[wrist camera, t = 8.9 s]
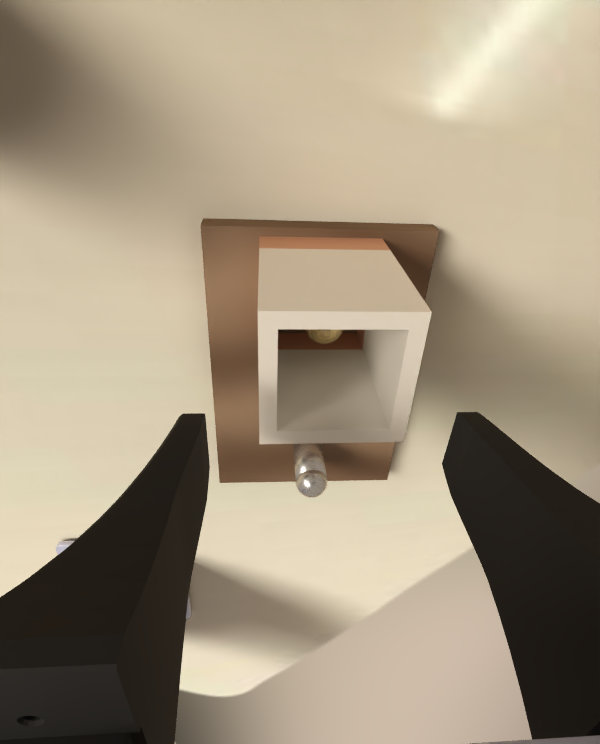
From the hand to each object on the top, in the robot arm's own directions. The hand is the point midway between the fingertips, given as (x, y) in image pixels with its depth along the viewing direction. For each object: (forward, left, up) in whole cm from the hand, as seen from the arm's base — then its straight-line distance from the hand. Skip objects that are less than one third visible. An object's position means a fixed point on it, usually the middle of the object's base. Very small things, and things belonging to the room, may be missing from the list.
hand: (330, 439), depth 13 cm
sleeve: (0, -1, -9) cm, 9 cm away
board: (-4, -1, -10) cm, 11 cm away
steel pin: (-9, -1, -9) cm, 13 cm away
